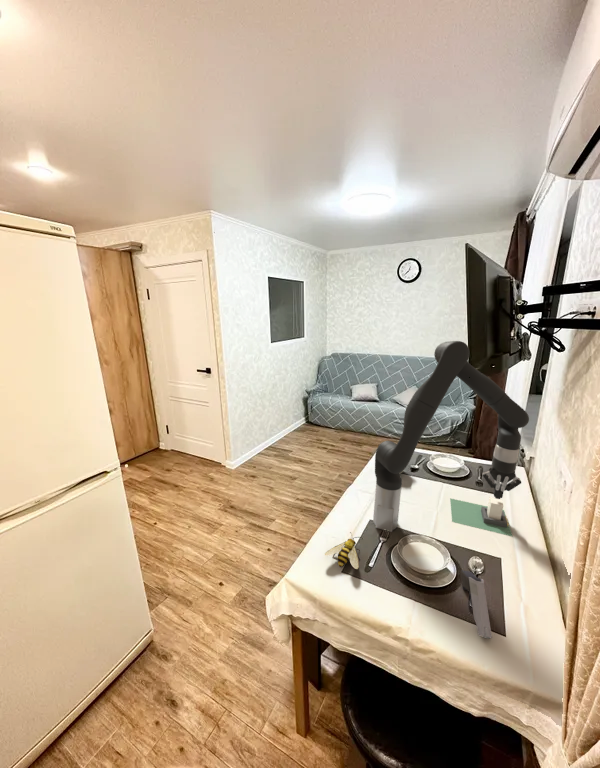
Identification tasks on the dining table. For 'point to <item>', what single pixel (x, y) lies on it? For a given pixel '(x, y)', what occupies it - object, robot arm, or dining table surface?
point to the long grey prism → (477, 602)
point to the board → (478, 517)
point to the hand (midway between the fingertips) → (497, 497)
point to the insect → (346, 553)
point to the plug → (494, 508)
